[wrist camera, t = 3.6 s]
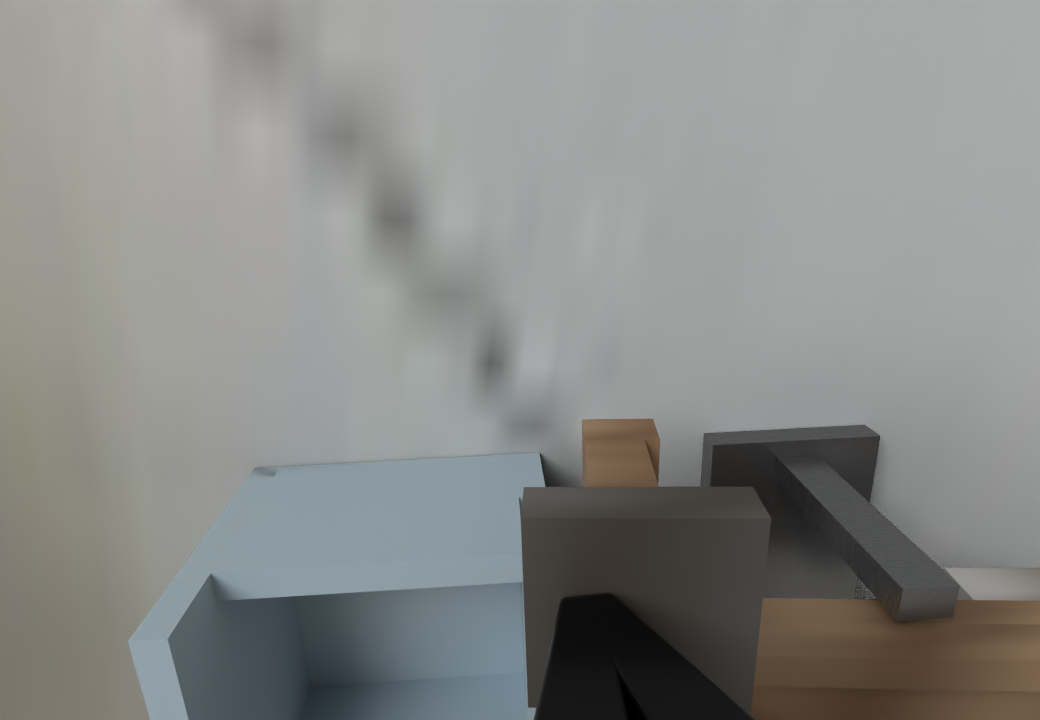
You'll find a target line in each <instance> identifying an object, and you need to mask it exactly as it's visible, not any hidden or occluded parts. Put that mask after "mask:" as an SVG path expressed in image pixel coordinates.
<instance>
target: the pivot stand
mask: <svg viewBox="0 0 1040 720" xmlns="http://www.w3.org/2000/svg"><path fill="white" fill-rule="evenodd" d="M879 440H880V436H879V435H878V434H877V433H875V432H874V431H872V430H871V429H870V428H868V427H867V426H866V425H854V426H835V427H816V428H798V429H779V430H761V431H742V432H723V433H705V434H704V442H703V458H702V473H701V487H753V488H754V489H755V491H756V493H757V495H758V496H759V498H760V500H761V502H762V503H763V505H764V507H765V509H766V510H767V512H768V514H769V515H770V517H771V526H770V536H769V545H768V555H767V564H766V574H765V583H764V593H763V598H803V599H854V596H855V590H856V583H857V577H859V578H860V580H861V581H862V582H863V583H864V584H865V585H866V586H867V588H868V589H869V590H870V591H871V592H872V593H873V594H874V596H875V597H876V598H877V599H878V600H879V601H880V602H881V604H882V605H883V606H884V607H885V608H886V609H887V610H888V612H889V613H890V614H891V615H892V616H893V617H894V618H895V620H896V621H910V620H925V619H940V618H953V615H954V610H955V606H956V601H957V597H958V592H959V588H960V585H959V584H957V583H956V582H955V581H954V580H953V579H952V578H951V577H950V576H949V575H948V574H947V573H945V572H944V571H943V570H942V569H941V568H940V567H939V566H938V565H937V564H936V563H934V562H933V561H932V560H931V559H930V558H929V557H928V556H927V555H926V554H925V553H924V552H922V551H921V550H920V549H919V548H918V547H917V546H916V545H915V544H914V543H913V542H912V541H910V540H909V539H908V538H907V537H906V536H905V535H904V534H903V533H902V532H901V531H900V530H898V529H897V528H896V527H895V526H894V525H893V524H892V523H891V522H890V521H889V520H888V519H886V518H885V517H884V516H883V515H882V514H881V513H880V512H879V511H878V510H877V509H876V508H874V507H873V506H872V505H871V504H870V496H871V490H872V484H873V478H874V472H875V465H876V459H877V453H878V447H879Z"/></svg>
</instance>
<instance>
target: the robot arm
mask: <svg viewBox="0 0 1040 720" xmlns="http://www.w3.org/2000/svg"><path fill="white" fill-rule="evenodd" d="M534 720H755V719H754V718H753V717H752V716H751V715H749V714H748V713H747V712H746V711H745V710H744V709H743V708H742V707H740V706H739V705H738V704H737V703H736V702H735V701H734V700H732V699H731V698H730V697H729V696H728V695H727V694H726V693H725V692H723V691H722V690H721V689H720V688H719V687H718V686H717V685H716V684H714V683H713V682H712V681H711V680H710V679H709V678H708V677H706V676H705V675H704V674H703V673H702V672H701V671H700V670H699V669H697V668H696V667H695V666H694V665H693V664H692V663H691V662H690V661H688V660H687V659H686V658H685V657H684V656H683V655H682V654H680V653H679V652H678V651H677V650H676V649H675V648H674V647H673V646H671V645H670V644H669V643H668V642H667V641H666V640H665V639H664V638H662V637H661V636H660V635H659V634H658V633H657V632H656V631H654V630H653V629H652V628H651V627H650V626H649V625H648V624H647V623H645V622H644V621H643V620H642V619H641V618H640V617H639V616H637V615H636V614H635V613H634V612H633V611H632V610H631V609H630V608H628V607H627V606H626V605H625V604H624V603H623V602H622V601H621V600H619V599H618V598H617V597H616V596H615V595H613V594H611V593H599V594H590V595H580V596H571V597H564V598H562V599H561V601H560V604H559V608H558V613H557V617H556V622H555V626H554V631H553V635H552V640H551V644H550V649H549V653H548V658H547V662H546V666H545V671H544V675H543V680H542V684H541V689H540V693H539V698H538V702H537V707H536V711H535V716H534Z"/></svg>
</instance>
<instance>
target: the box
mask: <svg viewBox="0 0 1040 720" xmlns="http://www.w3.org/2000/svg"><path fill="white" fill-rule="evenodd" d="M524 487H545V482H544V476H543V471H542V465H541V459H540V454H539V453H523V454H504V455H486V456H468V457H449V458H431V459H412V460H394V461H376V462H357V463H339V464H320V465H302V466H284V467H265V468H254V470H253V471H252V472H251V474H250V475H249V477H248V478H247V479H246V481H245V482H244V483H243V485H242V486H241V487H240V489H239V490H238V492H237V493H236V494H235V496H234V497H233V498H232V500H231V501H230V502H229V504H228V505H227V507H226V508H225V509H224V511H223V512H222V513H221V515H220V516H219V518H218V519H217V520H216V522H215V523H214V524H213V526H212V527H211V528H210V530H209V531H208V533H207V534H206V535H205V537H204V538H203V539H202V541H201V542H200V544H199V545H198V546H197V548H196V549H195V550H194V552H193V553H192V554H191V556H190V557H189V559H188V560H187V561H186V563H185V564H184V565H183V567H182V568H181V569H180V571H179V572H178V574H177V575H176V576H175V578H174V579H173V580H172V582H171V583H170V585H169V586H168V587H167V589H166V590H165V591H164V593H163V594H162V595H161V597H160V598H159V600H158V601H157V602H156V604H155V605H154V606H153V608H152V609H151V611H150V612H149V613H148V615H147V616H146V617H145V619H144V620H143V621H142V623H141V624H140V626H139V627H138V628H137V630H136V631H135V632H134V634H133V635H132V637H131V638H130V639H129V641H128V644H129V648H130V651H131V655H132V658H133V662H134V665H135V669H136V672H137V676H138V679H139V683H140V686H141V690H142V693H143V697H144V700H145V704H146V707H147V711H148V714H149V718H150V720H534V716H535V711H536V708H528V694H527V668H526V643H525V617H524V591H523V566H522V540H521V510H522V500H523V490H524Z"/></svg>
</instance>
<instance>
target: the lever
mask: <svg viewBox="0 0 1040 720" xmlns="http://www.w3.org/2000/svg"><path fill="white" fill-rule="evenodd" d="M659 447H660V439H659V436H658V433H657V430H656V427H655V424H654V421H653V419H595V420H582V462H583V487H524V490H523V500H522V510H521V540H522V566H523V591H524V617H525V643H526V668H527V694H528V708H536V707H537V702H538V698H539V693H540V689H541V684H542V680H543V675H544V671H545V666H546V662H547V658H548V653H549V649H550V644H551V640H552V635H553V631H554V626H555V622H556V617H557V613H558V608H559V604H560V601H561V599H562V598H564V597H571V596H580V595H590V594H599V593H611V594H613V595H615V596H616V597H617V598H618V599H619V600H621V601H622V602H623V603H624V604H625V605H626V606H627V607H628V608H630V609H631V610H632V611H633V612H634V613H635V614H636V615H637V616H639V617H640V618H641V619H642V620H643V621H644V622H645V623H647V624H648V625H649V626H650V627H651V628H652V629H653V630H654V631H656V632H657V633H658V634H659V635H660V636H661V637H662V638H664V639H665V640H666V641H667V642H668V643H669V644H670V645H671V646H673V647H674V648H675V649H676V650H677V651H678V652H679V653H680V654H682V655H683V656H684V657H685V658H686V659H687V660H688V661H690V662H691V663H692V664H693V665H694V666H695V667H696V668H697V669H699V670H700V671H701V672H702V673H703V674H704V675H705V676H706V677H708V678H709V679H710V680H711V681H712V682H713V683H714V684H716V685H717V686H718V687H719V688H720V689H721V690H722V691H723V692H725V693H726V694H727V695H728V696H729V697H730V698H731V699H732V700H734V701H735V702H736V703H737V704H738V705H739V706H740V707H742V708H743V709H744V710H745V711H746V712H747V713H748V714H749V715H751V716H752V717H753V718H754V719H755V720H1040V568H944V569H943V571H944V572H945V573H947V574H948V575H949V576H950V577H951V578H952V579H953V580H954V581H955V582H956V583H957V584H959V585H960V588H959V592H958V597H957V601H956V606H955V610H954V615H953V618H940V619H925V620H910V621H896V620H895V618H894V617H893V616H892V615H891V614H890V613H889V612H888V610H887V609H886V608H885V607H884V606H883V605H882V604H881V602H880V601H879V600H878V599H803V598H763V593H764V583H765V574H766V564H767V555H768V545H769V536H770V526H771V517H770V515H769V514H768V512H767V510H766V509H765V507H764V505H763V503H762V502H761V500H760V498H759V496H758V495H757V493H756V491H755V489H754V488H753V487H659V486H658V472H659Z"/></svg>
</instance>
